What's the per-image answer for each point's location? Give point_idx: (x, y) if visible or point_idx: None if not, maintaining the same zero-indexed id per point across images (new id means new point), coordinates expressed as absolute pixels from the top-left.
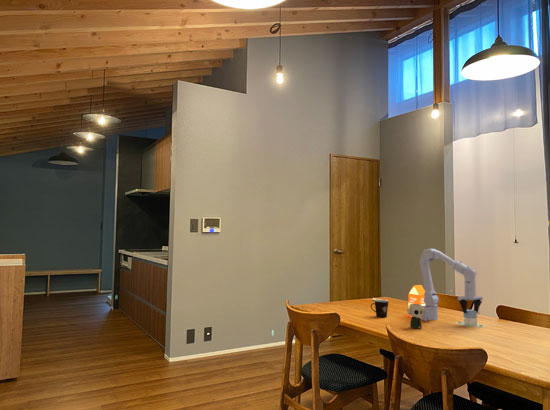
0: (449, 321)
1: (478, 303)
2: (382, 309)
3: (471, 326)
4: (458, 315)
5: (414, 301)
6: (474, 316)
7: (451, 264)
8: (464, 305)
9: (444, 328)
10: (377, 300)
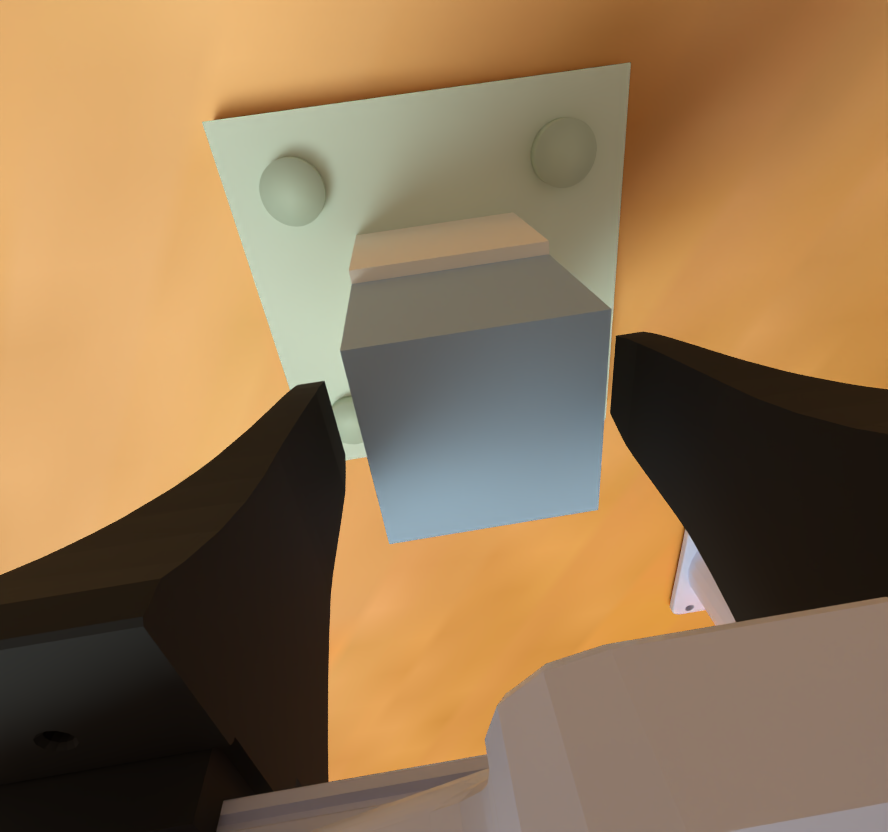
0: (572, 534)
1: (192, 536)
2: None
3: (513, 121)
4: (329, 755)
5: None
6: (408, 288)
7: None
8: (876, 390)
9: None
10: None
